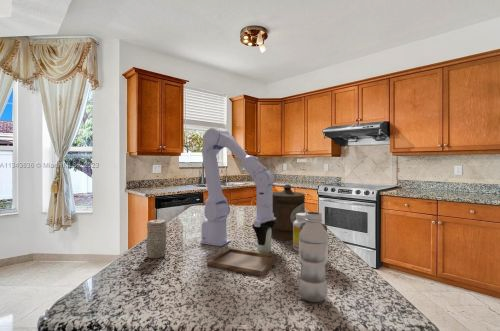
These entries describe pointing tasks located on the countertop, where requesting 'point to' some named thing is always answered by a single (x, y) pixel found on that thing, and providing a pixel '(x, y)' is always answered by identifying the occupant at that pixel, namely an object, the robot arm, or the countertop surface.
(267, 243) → the cup
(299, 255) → the jar
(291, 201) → the wooden container
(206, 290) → the countertop surface
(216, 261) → the tray
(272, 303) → the countertop surface
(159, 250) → the carving
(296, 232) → the supplement bottle
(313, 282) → the plastic bottle
